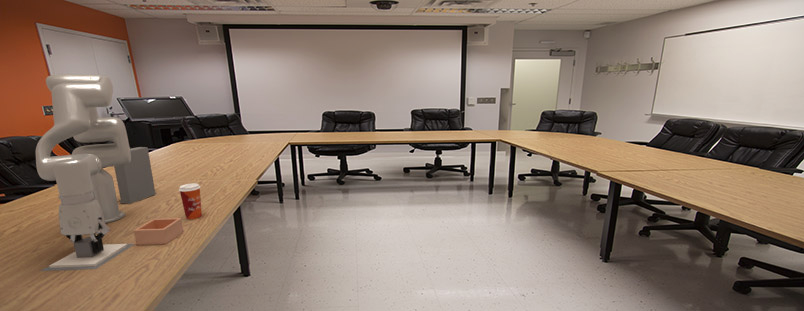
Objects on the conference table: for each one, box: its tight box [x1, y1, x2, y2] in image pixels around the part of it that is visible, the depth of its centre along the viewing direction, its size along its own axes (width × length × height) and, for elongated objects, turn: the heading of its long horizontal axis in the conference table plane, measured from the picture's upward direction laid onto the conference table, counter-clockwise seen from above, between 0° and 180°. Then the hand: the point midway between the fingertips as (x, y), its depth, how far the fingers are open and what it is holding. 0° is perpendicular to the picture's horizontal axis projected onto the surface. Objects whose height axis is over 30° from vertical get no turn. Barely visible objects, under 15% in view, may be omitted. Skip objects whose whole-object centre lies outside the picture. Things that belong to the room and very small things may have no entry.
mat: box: [39, 243, 136, 272], centre depth 104 cm, size 16×16×1 cm
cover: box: [48, 236, 128, 268], centre depth 104 cm, size 13×13×6 cm
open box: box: [133, 217, 185, 246], centre depth 116 cm, size 10×10×6 cm
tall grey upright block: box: [113, 146, 157, 205], centre depth 158 cm, size 14×6×25 cm, turn 172°
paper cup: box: [178, 182, 203, 220], centre depth 136 cm, size 8×8×14 cm
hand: (90, 251), depth 104 cm, fingers closed on cover, 4 cm apart
